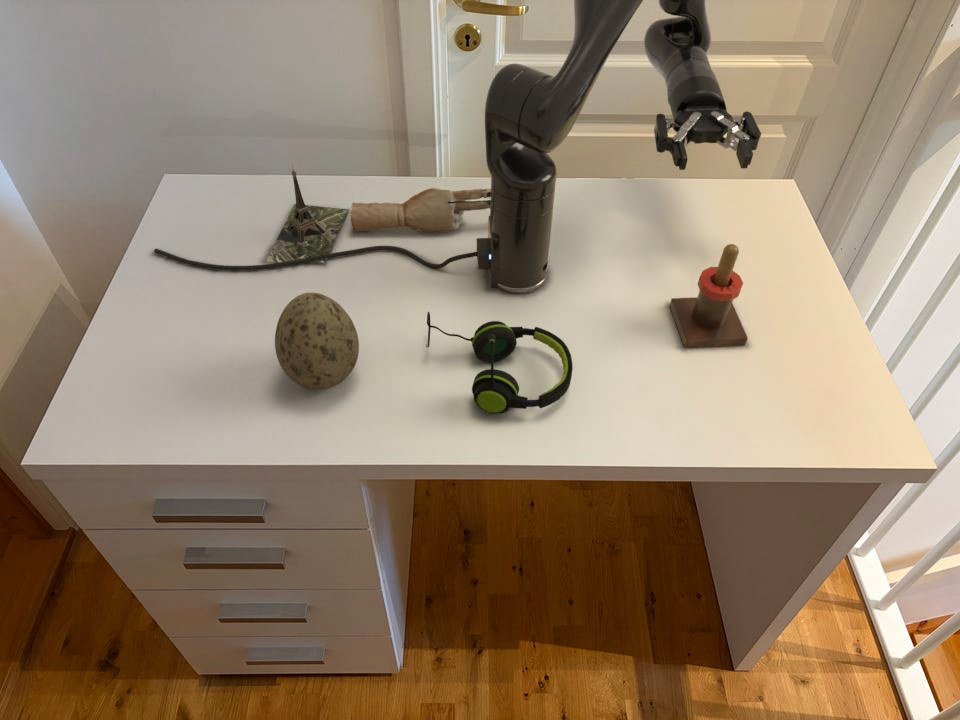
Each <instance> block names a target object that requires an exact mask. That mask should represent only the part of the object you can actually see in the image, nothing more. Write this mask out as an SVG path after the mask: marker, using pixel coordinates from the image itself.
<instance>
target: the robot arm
mask: <svg viewBox="0 0 960 720" xmlns="http://www.w3.org/2000/svg"><path fill="white" fill-rule="evenodd" d="M643 2H644V0H573V10H574V11H573V12H574V13H573V14H574V16H573V17H574V32H573V39H572V44H571V47H570V49H569V52H568V54H567V57H566V58H565V60H564V62H563V63H562V66H561V67H560V69H559V71H558V72H557V73H556V74H555V75H550V74H548V73H546V72H543V71H540V70H537V69H535V68H533V67H530V66H527V65H524V64H521V63H509V64H507V65H505V66H503V67H502V68H500V69H499V70H498V72H496V74H495V75H494V77H493V78H492V80H491V82H490V85H489V88H488V91H487V94H486V99H485V104H484V105H485V106H484V137H485V160H486V167H487V170H488V172H489V174H490V189H491V197H490V200H491V201H490V208H489V212H490V213H489V215H488V223H487V225H488V227H487V237H478V238H476V247H475V248H476V249H475V250H476V251H473V252H466V253H463V254H457V255H454V256H451V257H449V258H446V259H445V260H444V261H443V262H442V263H431V262H428V261H427V260H424V259H422V258H421V257H419V256H418V255H417V254H415V253H413V252H411V251H410V250H408V249H405V248H403V247H400V246H394V245H373V246H366V247H362V248H356V249H349V250H343V251H338V252H330V253H329V254H325V255H320V256H316V257H310V258H305V259H299V260H293V261H286V262H271V263H266V264H265V263H264V264H256V265H222V264H215V263H214V264H212V263H205V262H200V261H195V260H190V259H187V258H184V257H180V256H178V255H175V254H172V253H170V252H167V251H164V250H162V249H158V248H155V249H154V251H153V252H154V253H155V254H157V255H160V256H163V257H166V258H168V259H171V260H173V261H176V262H180V263H182V264H186V265H190V266H193V267H200V268H203V269H204V268H205V269H212V270H222V271H259V270H268V269H274V268H283V267H289V266H295V265H301V264H307V263H311V262H310V261H314V260H318V259H322V258H326V257H328V258H327V260H328V259H333V258H339V257H345V256H351V255H356V254H362V253H368V252H375V251H392V252H393V251H394V252H398V253H402V254H404V255H406V256H408V257H410V258H412V259H413V260H414V261H416V262H418V263H419V264H421V265H423V266H425V267H427V268H429V269H436V270H439V269H443V268H445V267H446V266H448V265H449V264H450V263H452V262H456V261H460V260H464V259H470V258H476V262H477V270H487V275H488V280H489V287H490V289H499V290H501V291H504V292H506V293H510V294H527V293H532V292H534V291H536V290H539V289H540V288H541V287H542V286H543V285H545V283H546V282H547V279H548V271H549V270H548V268H549V263H550V259H551V258H550V257H551V256H550V246H551V245H550V244H551V237H552V225H553V214H554V204H555V195H556V194H555V193H556V184H557V175H558V173H557V172H558V171H557V165H556V163H555V161H554V159H553V158H552V157H551V156H550V155H549V154H548V153H552V152H553V151H555V150H557V148H559V146H560V145H561V144H562V143H563V142H564V141H565V139H567V137H568V135H569V134H570V132H571V130H572V129H573V127H574V125H575V123H576V122H577V119H578V118H579V116H580V114H581V112H582V110H583V108H584V106H585V104H586V102H587V100H588V98H589V96H590V93H591V91H592V90H593V87H594V86H595V84H596V82H597V80H598V78H599V75H601V74H600V73H601V72H602V70H603V67H604V66H605V64H606V62H607V60H608V58H609V57H610V55H611V53H612V51H613V49H614V48H615V46H616V44H617V43H618V41H619V40H620V38H621V36H622V34H623V33H624V31H625V30H626V27H627V26H628V24H629V23H630V21H631V20H632V18H633V16H634V15H635V13H636V12H637V10H638V9H639V7H640V6H641V4H642V3H643ZM658 5H659V8H660V9H661V10H662V11H663V12H664V13H666V14H668V15H671V16H675V17H669V18H661V19H658V20H655V21H653V22H652V23H651V24H650V25H649V26H648V27H647V29H646V31H645V33H644V38H643V47H644V52H645V55H646V58H647V59H648V61H649V63H650V64H651V65H652V67H653V68H654V69H655V70H656V71H657V73H659V74H660V75H661V77H662V78H663V79H664V82H665V86H666V94H667V95H666V96H667V102H668V105H669V107H670V111H671V115H672V118H666V115H665V114H663V113H658V114H656V117H655V123H654V127H653V133H654V140H655V148H656V149H655V150H656V152H658V153H660V154H661V153H665V152H669V154H670V155H671V157H672V161H673V165H674V166H675V167H678V170H679V171H685V170H686V168H687V164H688V154H687V150H686V148H687V147H688V146H689V145H690V144H691V143H693V144H695V145H696V144H704V143H706V144H717V145H719V146H721V147H723V148H724V149H728V148H729V149H731V150H733V151H734V152H735V155H736V158H737V161H738V163H739V167H740V169H741V170H742V169H744V170H745V169H748V167H749V166H750V165H751V163H752V161H753V157H754V152H753V151H757V149H758V145H759V142H760V139H761V137H762V132H761V130H760V128H759V125H758V124H757V122H756V119H755V118H754V116H753V113H752V112H751V111H743V113H742V115H741V116H732V115H731V114H730V113H729V112H728V110H727V107H726V106H727V104H726V101H725V98H724V96H723V93H722V90H721V87H720V84H719V81H718V79H717V76H716V74H715V72H714V71H713V69H712V67H711V64H710V60H709V57H708V55H707V53H708V52H709V49H710V47H711V43H712V35H711V29H710V25H709V20H708V19H709V18H708V15H707V9H706V0H658ZM671 129H673V131H674V132H675V134H674V135H673V136H672V137H671V136H669V134H668V133H669V132H670V130H671ZM725 136H726V137H725ZM736 139H737V140H738V141H736Z"/></svg>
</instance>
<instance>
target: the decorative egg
mask: <svg viewBox="0 0 960 720" xmlns="http://www.w3.org/2000/svg"><path fill="white" fill-rule="evenodd" d="M274 333H275V334H274V349H275V355H276V359H277V361H278V363H279V366H280V368H281V370H282V371H283V373H284V374H285V375H286V376H287V377H288V378H289V379H290V380H291V381H292V382H294V384H296V385H299V386H301V387H303V388H306V389H309V390H317V391H318V390H319V391H320V390H321V391H322V390H328V389H331V388H334V387H336V386H338V385H340V384H341V383H342V382H344V381H345V380H346V379H347V378H348V377H349V376H350V375H351V373H352V372H353V371H354V369H355V367H356V365H357V361H358V359H359V353H360V342H359V341H360V340H359V335H358V331H357V327H356V326H355V324H354V322H353V320H352V318H351V317H350V315H349V314H348V312H347V311H346V310H345V308H343V306H342V305H340V304H339V303H338V302H337V301H336V300H334V299H332V298H331V297H329V296H327V295H325V294H322V293H319V292H304V293H301V294H299V295H297V296H295V297H294V298H293V299H291V300H290V301H289V302H288V303H287V304H286V306H285V307H284V309H283V310H282V312H281V314H280V315H279V318H278V320H277V324H276V327H275V332H274Z"/></svg>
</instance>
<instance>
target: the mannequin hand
mask: <svg viewBox="0 0 960 720" xmlns="http://www.w3.org/2000/svg"><path fill="white" fill-rule="evenodd" d="M482 198H484V199H487V198H491V188H484V189H482V188H478V189H477V188H476V189H475V188H474V189H469V190H468V189H465V190H464V189H463V190H449V189H441V188H437V187H431V188H426V189H424V190H421V191H420V192H418V193H416V194H414V195H413V196H412V197H410V198H408V200H406V201H404V202H403V203H398V202H382V203H380V202H370V203H365V202H354V201H353V202H352V203H351V207H350V208H351V210H350V212H349V214H350V224H351V227H352V231H353V233H355V232H364V231H365V232H366V231H376V230H386V229H387V230H388V229H396V228H398V229H399V228H409V229H411V230H415V231H416V230H418V231H421V232H429V233H441V232H446V233H447V232H453V231H456V230H457V229H458V228H460V226H461V224H462V223H463V217H462V216H463V215H464V213H465V212H469V211H480V210H486V209H490V201H491V199H488V200H480V199H482ZM472 200H473V201H472Z"/></svg>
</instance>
